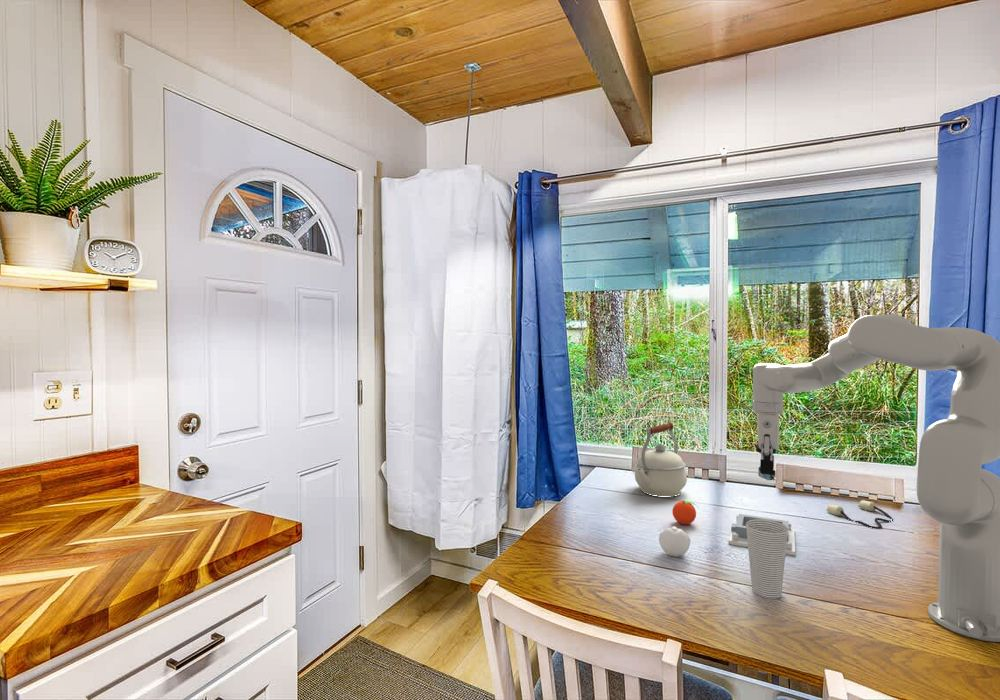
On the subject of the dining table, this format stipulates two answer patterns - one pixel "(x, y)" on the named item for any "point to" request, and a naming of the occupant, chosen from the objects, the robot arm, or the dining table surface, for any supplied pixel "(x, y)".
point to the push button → (765, 476)
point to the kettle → (660, 467)
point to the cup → (766, 556)
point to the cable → (863, 505)
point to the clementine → (684, 512)
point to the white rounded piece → (674, 541)
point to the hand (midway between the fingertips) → (767, 470)
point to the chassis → (740, 532)
